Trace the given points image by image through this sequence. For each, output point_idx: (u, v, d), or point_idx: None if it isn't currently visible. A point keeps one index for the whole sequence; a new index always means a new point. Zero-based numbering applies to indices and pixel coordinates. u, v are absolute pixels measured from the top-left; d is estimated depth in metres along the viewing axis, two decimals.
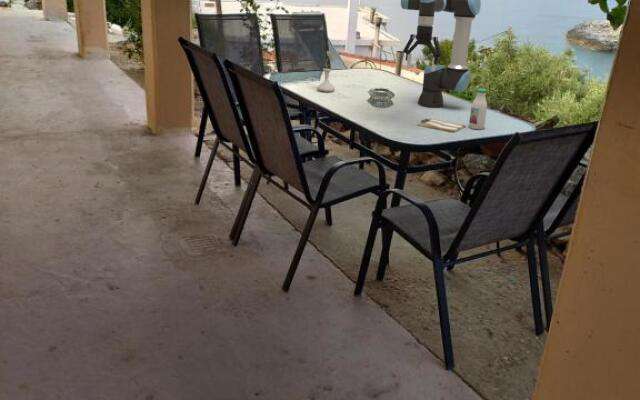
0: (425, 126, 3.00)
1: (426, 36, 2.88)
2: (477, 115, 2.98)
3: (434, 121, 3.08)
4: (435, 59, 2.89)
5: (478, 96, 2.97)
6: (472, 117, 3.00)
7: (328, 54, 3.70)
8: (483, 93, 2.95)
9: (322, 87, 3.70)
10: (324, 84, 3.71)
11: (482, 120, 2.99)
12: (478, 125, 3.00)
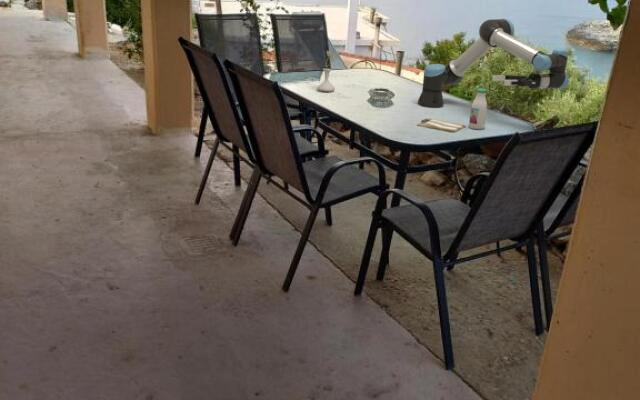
0: (425, 126, 3.00)
1: None
2: (477, 115, 2.98)
3: (434, 121, 3.08)
4: None
5: (478, 96, 2.97)
6: (472, 117, 3.00)
7: (328, 54, 3.70)
8: (483, 93, 2.95)
9: (322, 87, 3.70)
10: (324, 84, 3.71)
11: (482, 119, 2.99)
12: (478, 125, 3.00)
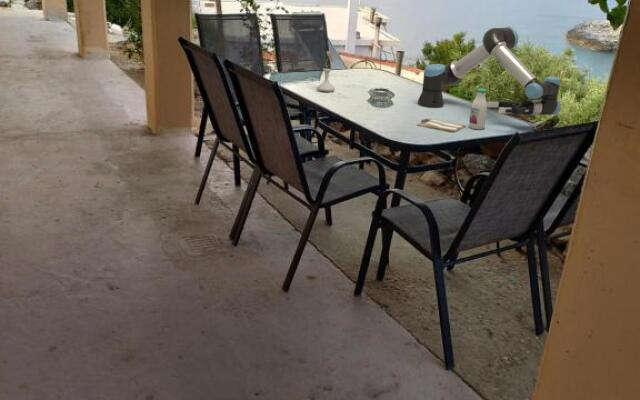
0: (425, 126, 3.00)
1: None
2: (477, 115, 2.98)
3: (434, 121, 3.08)
4: None
5: (478, 96, 2.97)
6: (472, 117, 3.00)
7: (328, 54, 3.70)
8: (483, 93, 2.95)
9: (322, 87, 3.70)
10: (324, 84, 3.71)
11: (482, 120, 2.99)
12: (478, 125, 3.00)
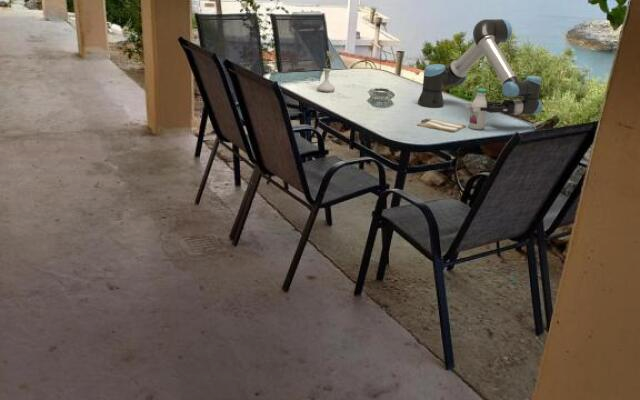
0: (425, 126, 3.00)
1: None
2: (477, 115, 2.98)
3: (434, 121, 3.08)
4: None
5: (478, 96, 2.97)
6: (472, 117, 3.00)
7: (328, 54, 3.70)
8: (483, 93, 2.95)
9: (322, 87, 3.70)
10: (324, 84, 3.71)
11: (482, 119, 2.99)
12: (478, 125, 3.00)
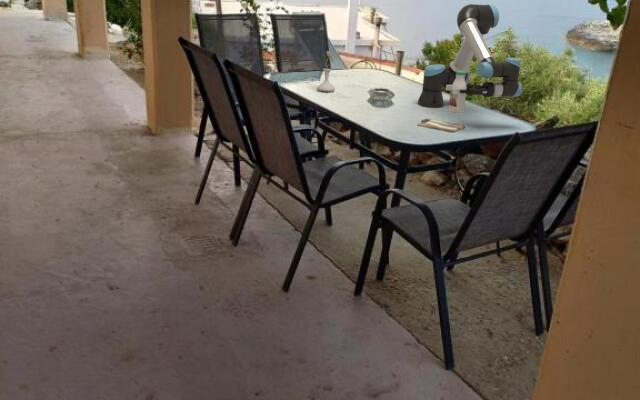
0: (425, 126, 3.00)
1: None
2: (457, 98, 2.93)
3: (434, 121, 3.08)
4: None
5: (457, 79, 2.92)
6: (451, 100, 2.96)
7: (328, 54, 3.70)
8: (462, 75, 2.91)
9: (322, 87, 3.70)
10: (324, 84, 3.71)
11: (461, 102, 2.95)
12: (458, 108, 2.95)
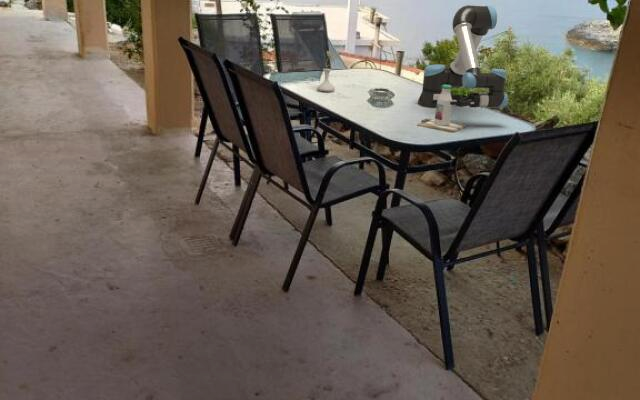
0: (425, 126, 3.00)
1: None
2: (442, 111, 2.97)
3: (434, 121, 3.08)
4: None
5: (443, 92, 2.96)
6: (437, 113, 2.99)
7: (328, 54, 3.70)
8: (448, 89, 2.95)
9: (322, 87, 3.70)
10: (324, 84, 3.71)
11: (447, 116, 2.98)
12: (443, 121, 2.99)
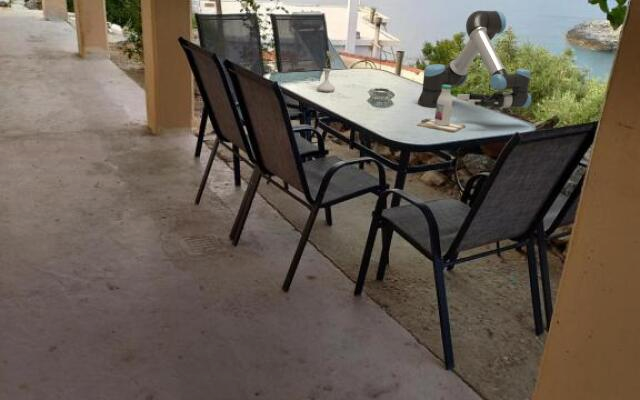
0: (425, 126, 3.00)
1: None
2: (442, 111, 2.97)
3: (434, 121, 3.08)
4: None
5: (443, 92, 2.96)
6: (437, 113, 2.99)
7: (328, 54, 3.70)
8: (448, 89, 2.94)
9: (322, 87, 3.70)
10: (324, 84, 3.71)
11: (447, 116, 2.98)
12: (443, 121, 2.99)
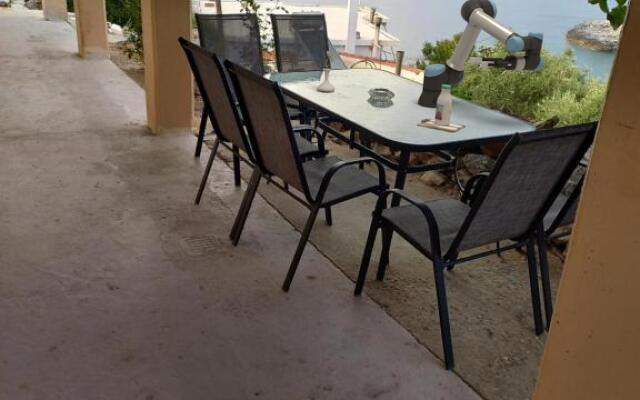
0: (425, 126, 3.00)
1: None
2: (442, 111, 2.97)
3: (434, 121, 3.08)
4: None
5: (443, 92, 2.96)
6: (437, 113, 2.99)
7: (328, 54, 3.70)
8: (448, 89, 2.94)
9: (322, 87, 3.70)
10: (324, 84, 3.71)
11: (447, 116, 2.98)
12: (443, 121, 2.99)
